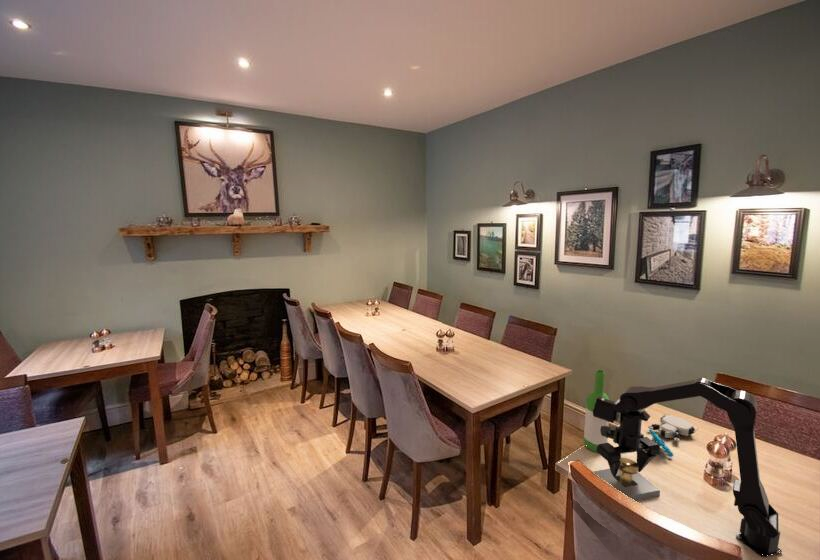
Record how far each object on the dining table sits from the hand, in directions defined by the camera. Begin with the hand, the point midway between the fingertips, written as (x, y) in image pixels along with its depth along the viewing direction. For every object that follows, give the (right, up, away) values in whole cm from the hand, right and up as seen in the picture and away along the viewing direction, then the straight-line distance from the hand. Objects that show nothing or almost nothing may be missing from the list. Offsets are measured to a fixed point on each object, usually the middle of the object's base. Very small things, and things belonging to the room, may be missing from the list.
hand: (626, 473), depth 116 cm
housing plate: (0, -4, +1) cm, 4 cm away
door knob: (0, -4, +1) cm, 4 cm away
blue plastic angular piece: (+23, -2, +18) cm, 30 cm away
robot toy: (+36, 0, +30) cm, 46 cm away
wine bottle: (+1, -1, +21) cm, 21 cm away
